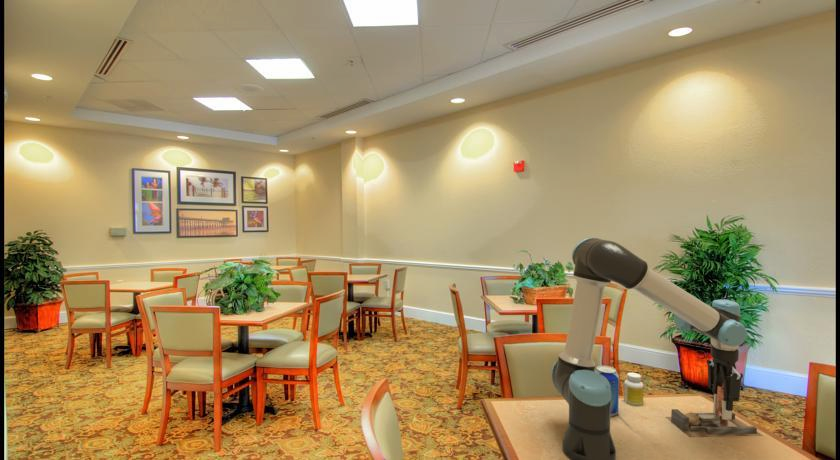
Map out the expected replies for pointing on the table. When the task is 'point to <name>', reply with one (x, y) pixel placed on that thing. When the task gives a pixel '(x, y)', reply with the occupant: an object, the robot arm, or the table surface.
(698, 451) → the table surface
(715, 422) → the lever handle
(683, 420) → the base
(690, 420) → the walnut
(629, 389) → the pill bottle
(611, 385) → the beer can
